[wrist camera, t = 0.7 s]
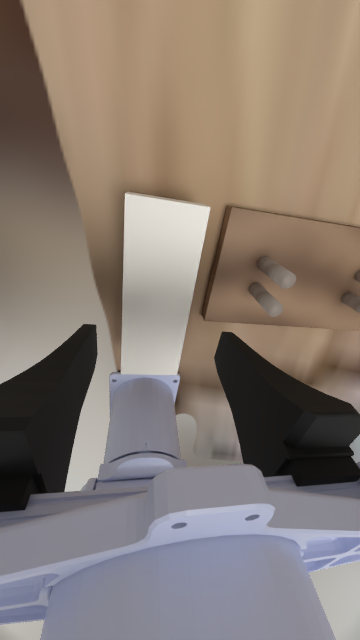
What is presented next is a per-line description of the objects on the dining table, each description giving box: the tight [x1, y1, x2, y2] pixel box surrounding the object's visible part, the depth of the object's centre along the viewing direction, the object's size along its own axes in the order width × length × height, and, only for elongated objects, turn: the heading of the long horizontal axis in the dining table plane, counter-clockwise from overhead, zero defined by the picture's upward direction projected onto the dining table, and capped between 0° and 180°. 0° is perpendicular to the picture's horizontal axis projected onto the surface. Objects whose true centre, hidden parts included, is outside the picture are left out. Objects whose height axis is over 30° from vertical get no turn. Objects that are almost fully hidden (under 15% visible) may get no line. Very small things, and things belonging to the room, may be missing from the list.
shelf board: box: [121, 191, 210, 375], centre depth 18 cm, size 14×5×2 cm, turn 171°
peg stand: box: [202, 206, 360, 331], centre depth 20 cm, size 10×18×5 cm, turn 81°
